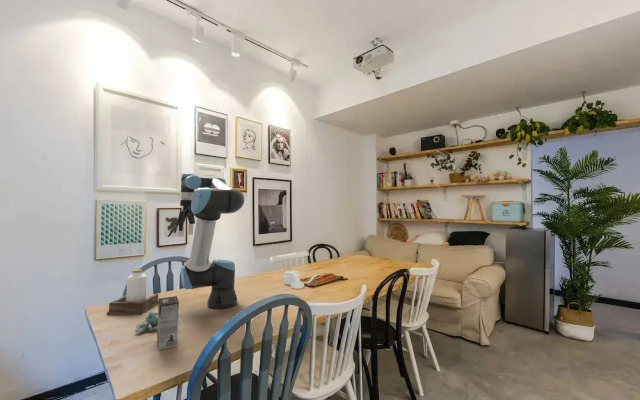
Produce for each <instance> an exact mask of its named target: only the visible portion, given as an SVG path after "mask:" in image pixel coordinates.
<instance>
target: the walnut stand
mask: <svg viewBox="0 0 640 400" xmlns="http://www.w3.org/2000/svg"><path fill="white" fill-rule="evenodd" d="M156 305H159V293H154V294H152V295H150V296H149V297H147V298H146V299H145V300H143V301H142V302H126V294H125V295H123V296H121V297H119V298H117V299H115V300H112V301H110V302H108V311H106V315H143V314H144V313H147V311H149V310H151V309H153V308H154V307H155V306H156Z"/></svg>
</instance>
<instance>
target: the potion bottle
mask: <svg viewBox="0 0 640 400" xmlns="http://www.w3.org/2000/svg"><path fill="white" fill-rule="evenodd" d="M147 278H148V277H147V275H146V274H145V273H143V269H133V270H132V274H130V275H129V276H128V277H127V279H126V294H125V295H126V302H142V301H143V300H145V299H147V298H146V297H147V282H148V281H147Z"/></svg>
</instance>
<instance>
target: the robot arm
mask: <svg viewBox="0 0 640 400" xmlns="http://www.w3.org/2000/svg"><path fill="white" fill-rule="evenodd" d="M179 196H180V201H179V206H180V208H179V213H178V216H177V220H176V225H177V226H178V233H177V234H178V236H177V237H183V238H184V237H185V225H184V224H185V222H186V220H187V221H188V224H187V225H188V228H187V229H188V231H187V235H190V236H191V235H192V236H193V235H194V236H193V240H192V244H191V246H192V247H191V251H190V256H189V257H190V258H188V259H187V260H186V262H185V265H181V267H180V277H181V279H180V280H181V283H182V287H183V289H185V290H194V289H201V288H207V287H211V290H210V293H209V296H208V298H207V301H206V302H207V305H206V306H207V307H208V308H210V309H217V310H219V309H220V310H222V309H228V307H229V308H231V307H234V305H235V306H236V305H237V304H238V297H237V293H236V290H235V281H236V279H235V277H236V264H235V261H232V260H228V259H212V261H210V255H211V250H212V245H213V239H214V236H215V235H214V233H215V228H216V223H217V221H219V220H220V219H221V215H223V214H233V213H236V212H238V211H240V210H241V209H242V208H243V206H244V204H245V197H244V194H243V193H242V192H241V191H240V190H239V189H237V188H232V187H231V186H229V185H228V184H227V183H226V178H221V177H211V176H210V177H209V176H199V175H197V174H196V175H195V174H193V173H181V178H180V194H179ZM195 218H196V219H195ZM194 225H195V228H194Z"/></svg>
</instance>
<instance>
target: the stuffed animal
mask: <svg viewBox="0 0 640 400" xmlns="http://www.w3.org/2000/svg"><path fill="white" fill-rule="evenodd" d="M135 326H136V328H135V329H134V332H135V333H139V334H142V333H143V332H144V331H146V330H147V329H148V332H156V331H157V329H158V311H153V312H152V311H151V312H149V313H148V314H147V316H146V317H145V320H143V321H141V322H139V323H137V325H135Z"/></svg>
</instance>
